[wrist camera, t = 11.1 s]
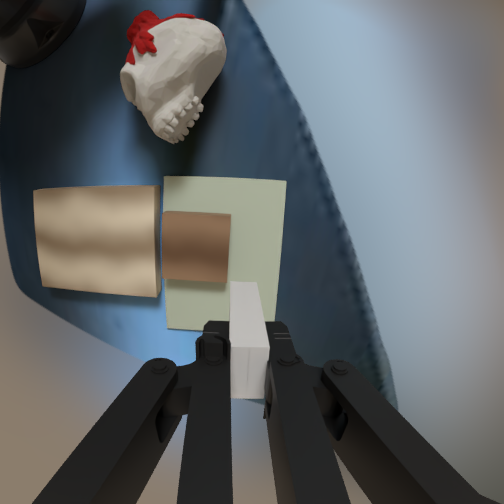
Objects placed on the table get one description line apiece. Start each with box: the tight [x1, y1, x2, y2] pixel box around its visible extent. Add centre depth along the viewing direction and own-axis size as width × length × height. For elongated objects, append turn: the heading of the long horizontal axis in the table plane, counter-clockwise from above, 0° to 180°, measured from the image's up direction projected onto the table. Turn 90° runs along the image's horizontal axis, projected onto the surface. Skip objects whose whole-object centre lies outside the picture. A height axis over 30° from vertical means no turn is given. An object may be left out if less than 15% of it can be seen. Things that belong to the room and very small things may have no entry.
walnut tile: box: [162, 211, 231, 283], centre depth 31 cm, size 7×7×2 cm
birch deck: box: [33, 185, 162, 297], centre depth 31 cm, size 12×16×2 cm
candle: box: [120, 10, 227, 144], centre depth 23 cm, size 9×11×15 cm
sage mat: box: [163, 176, 286, 330], centre depth 33 cm, size 18×13×1 cm
